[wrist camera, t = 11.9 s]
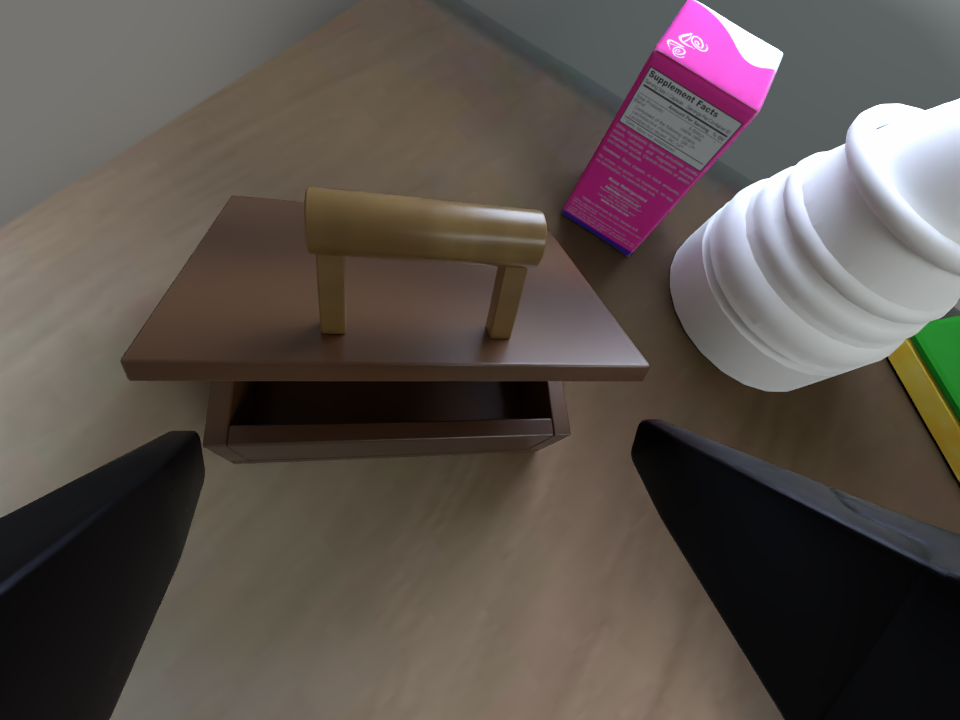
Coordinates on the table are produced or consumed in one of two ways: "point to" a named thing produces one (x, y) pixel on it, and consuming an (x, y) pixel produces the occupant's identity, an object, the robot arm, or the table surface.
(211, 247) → the lid
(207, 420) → the tea box
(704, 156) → the supplement box
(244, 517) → the table surface
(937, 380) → the dish sponge
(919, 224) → the honey pot
